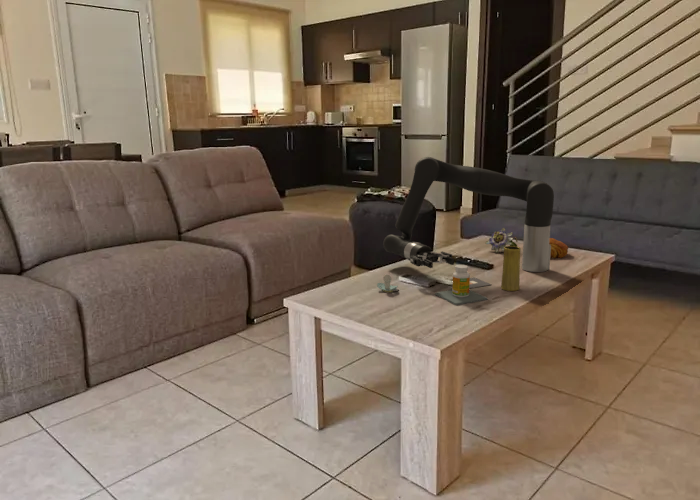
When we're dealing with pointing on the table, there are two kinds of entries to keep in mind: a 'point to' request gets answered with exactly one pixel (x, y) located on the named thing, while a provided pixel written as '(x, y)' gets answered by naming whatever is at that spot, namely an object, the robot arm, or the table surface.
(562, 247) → the croissant
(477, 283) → the dark gray tile
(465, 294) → the supplement bottle
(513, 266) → the vase
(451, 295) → the slate pad
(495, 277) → the table surface
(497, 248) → the passion flower
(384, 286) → the pacifier
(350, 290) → the table surface
